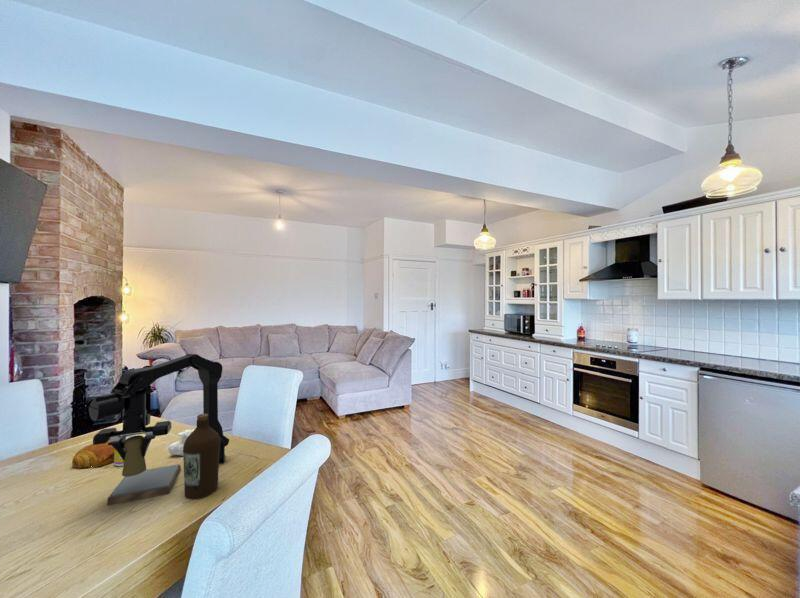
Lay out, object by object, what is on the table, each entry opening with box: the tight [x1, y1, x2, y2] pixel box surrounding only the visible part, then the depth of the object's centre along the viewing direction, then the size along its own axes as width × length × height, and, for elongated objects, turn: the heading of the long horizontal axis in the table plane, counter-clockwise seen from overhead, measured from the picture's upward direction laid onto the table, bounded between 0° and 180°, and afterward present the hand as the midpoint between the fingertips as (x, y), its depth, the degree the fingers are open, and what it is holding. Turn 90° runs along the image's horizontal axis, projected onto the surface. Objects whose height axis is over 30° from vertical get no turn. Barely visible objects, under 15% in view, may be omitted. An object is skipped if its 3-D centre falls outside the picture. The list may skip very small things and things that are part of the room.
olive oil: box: [182, 413, 220, 500], centre depth 108 cm, size 11×11×25 cm
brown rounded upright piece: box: [121, 434, 147, 478], centre depth 103 cm, size 6×6×11 cm
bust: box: [167, 428, 196, 457], centre depth 134 cm, size 12×8×11 cm
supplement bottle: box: [113, 428, 137, 467], centre depth 126 cm, size 7×7×13 cm
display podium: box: [106, 464, 182, 506], centre depth 110 cm, size 16×16×2 cm
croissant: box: [71, 440, 115, 469], centre depth 128 cm, size 14×16×8 cm
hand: (134, 458), depth 103 cm, fingers closed on brown rounded upright piece, 4 cm apart
